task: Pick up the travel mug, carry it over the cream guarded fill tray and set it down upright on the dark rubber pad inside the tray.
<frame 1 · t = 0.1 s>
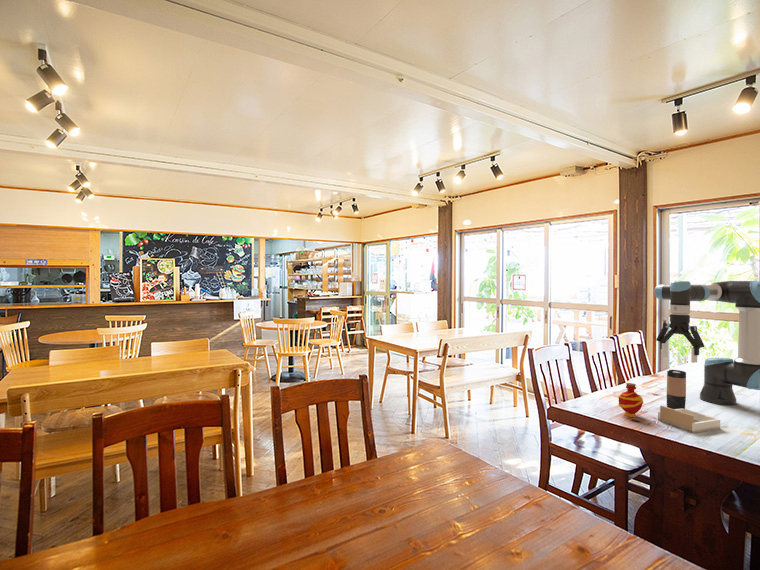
hand: (678, 359, 187), 28 cm above the table, fingers open, 13 cm apart
potion bottle: (630, 415, 192), on the table
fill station: (688, 424, 180), on the table
travel mug: (675, 412, 197), on the table
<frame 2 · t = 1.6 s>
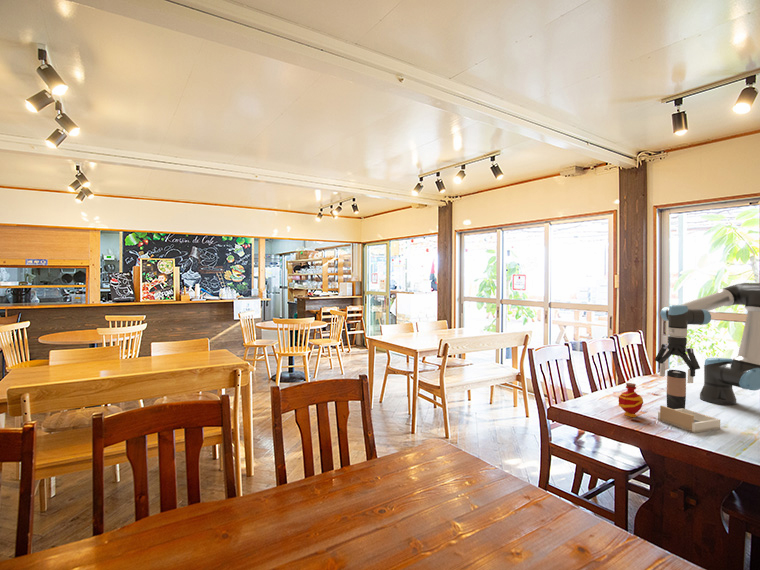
hand: (675, 379, 197), 16 cm above the table, fingers open, 13 cm apart
nothing on the table moved.
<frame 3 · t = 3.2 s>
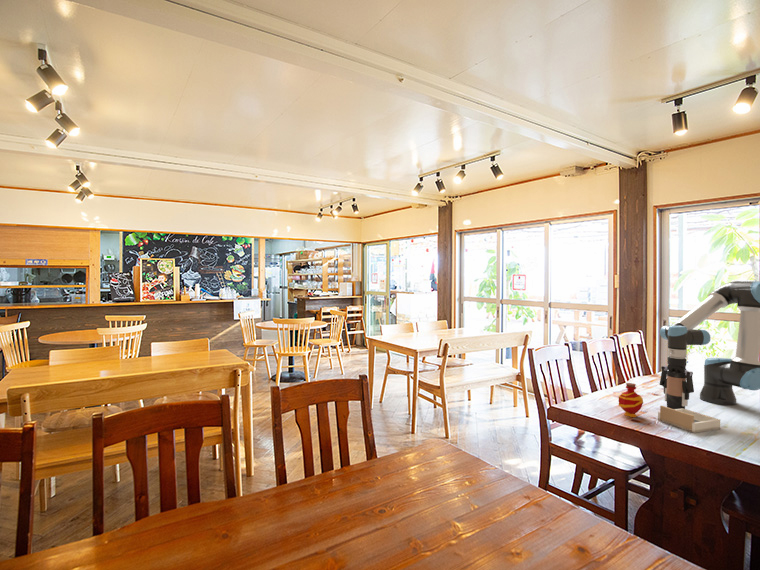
hand: (675, 403, 197), 4 cm above the table, fingers closed on travel mug, 8 cm apart
travel mug: (675, 412, 197), on the table, touching gripper
everything else where it was.
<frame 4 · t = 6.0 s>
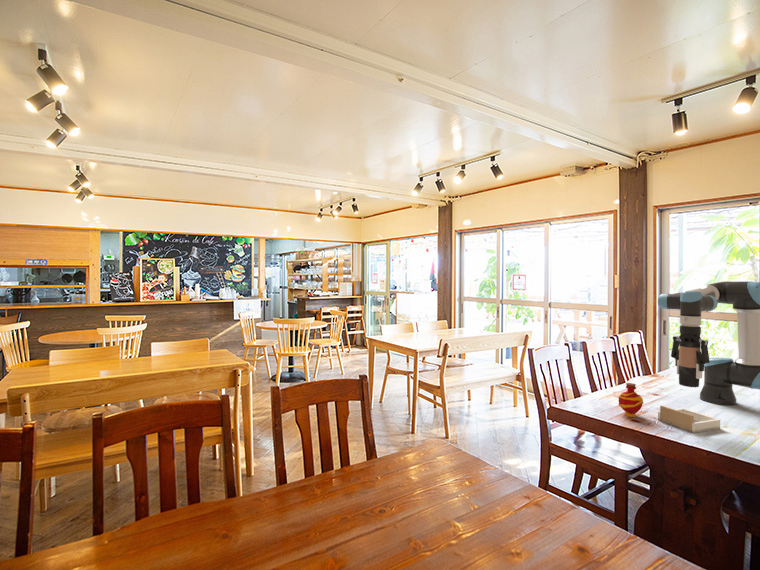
hand: (689, 376, 180), 22 cm above the table, fingers closed on travel mug, 8 cm apart
travel mug: (688, 385, 180), point 18 cm above the table, touching gripper
everything else where it was.
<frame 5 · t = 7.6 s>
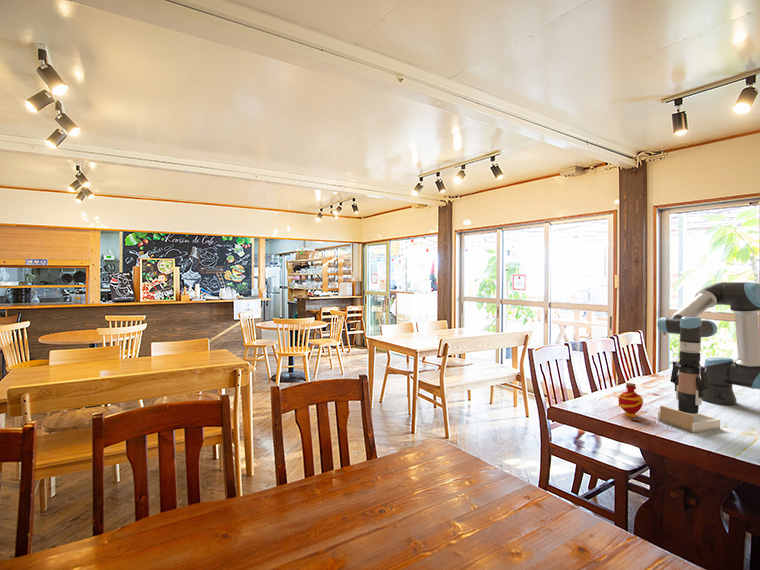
hand: (688, 401, 180), 10 cm above the table, fingers closed on travel mug, 8 cm apart
travel mug: (688, 411, 180), point 6 cm above the table, touching gripper
everything else where it was.
when the fingers open (7 cm above the table, at t = 8.7 s): travel mug drops 1 cm, resting on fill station.
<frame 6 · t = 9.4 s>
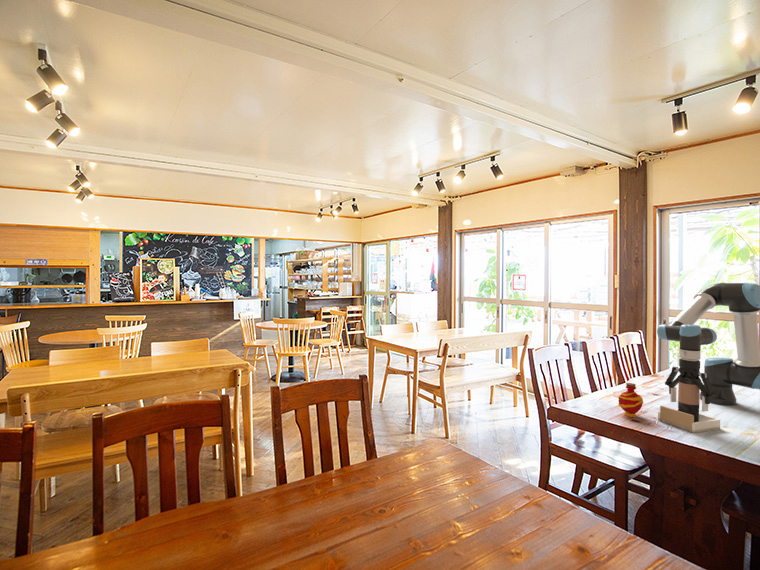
hand: (688, 406, 180), 8 cm above the table, fingers open, 13 cm apart
travel mug: (688, 421, 180), point 1 cm above the table, touching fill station
everything else where it was.
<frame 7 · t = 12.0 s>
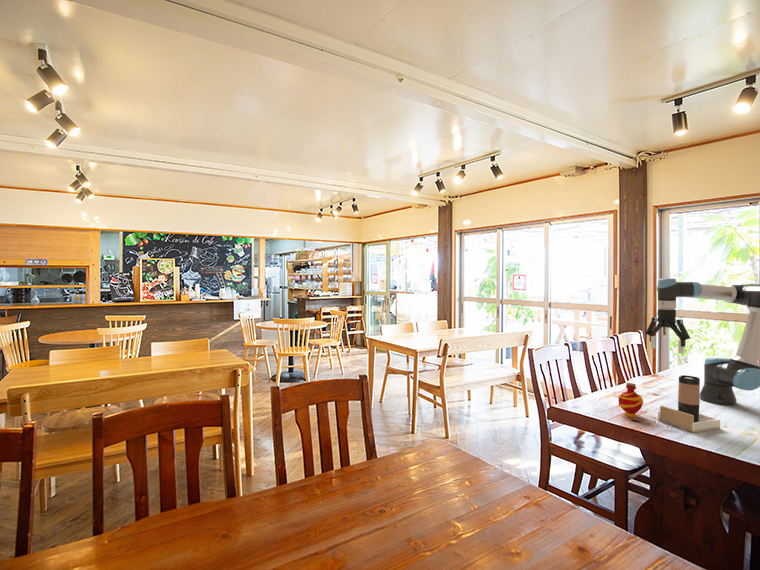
hand: (666, 350, 203), 29 cm above the table, fingers open, 13 cm apart
nothing on the table moved.
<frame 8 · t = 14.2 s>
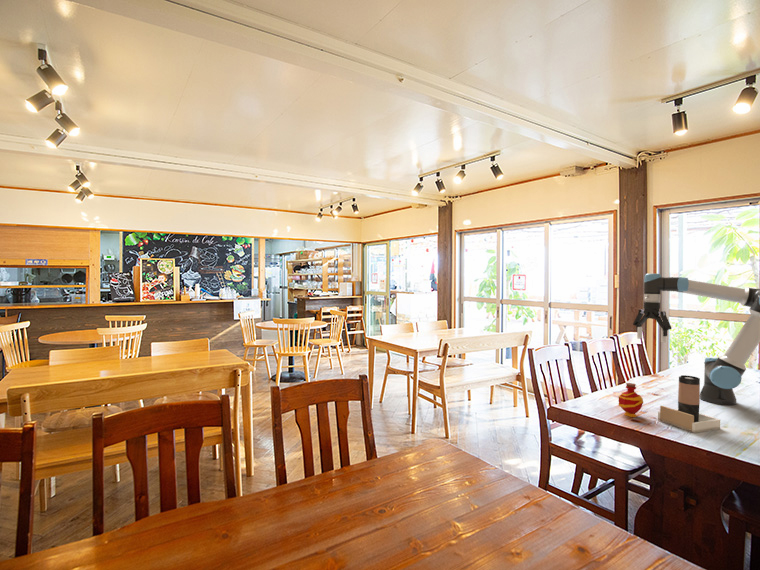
hand: (651, 340, 220), 32 cm above the table, fingers open, 13 cm apart
nothing on the table moved.
at the end: travel mug inside the target area on the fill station (0.0 cm from its centre), point 1.1 cm above the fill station's base; travel mug tilted 0°; travel mug touching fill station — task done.
